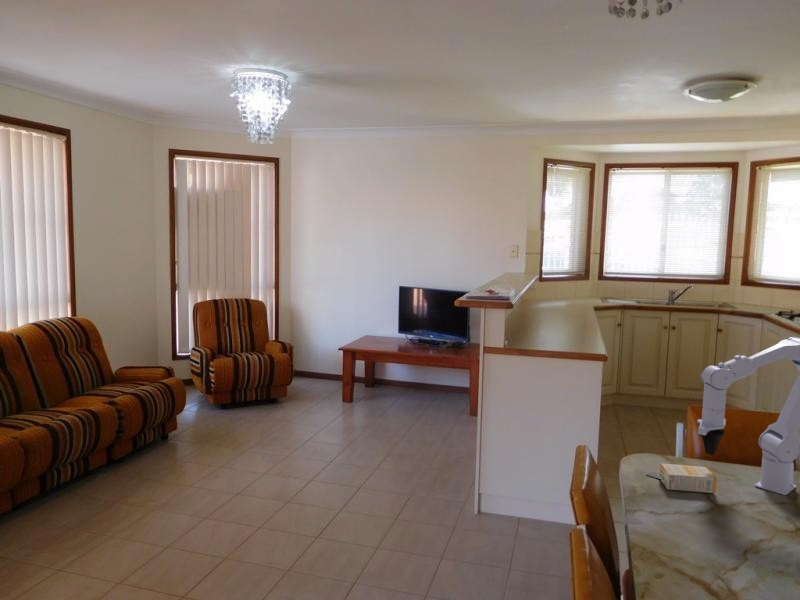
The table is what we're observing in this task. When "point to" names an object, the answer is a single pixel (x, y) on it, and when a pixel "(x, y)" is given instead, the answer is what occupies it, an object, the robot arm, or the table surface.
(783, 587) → the table surface
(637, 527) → the table surface
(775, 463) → the robot arm
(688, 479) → the supplement box
